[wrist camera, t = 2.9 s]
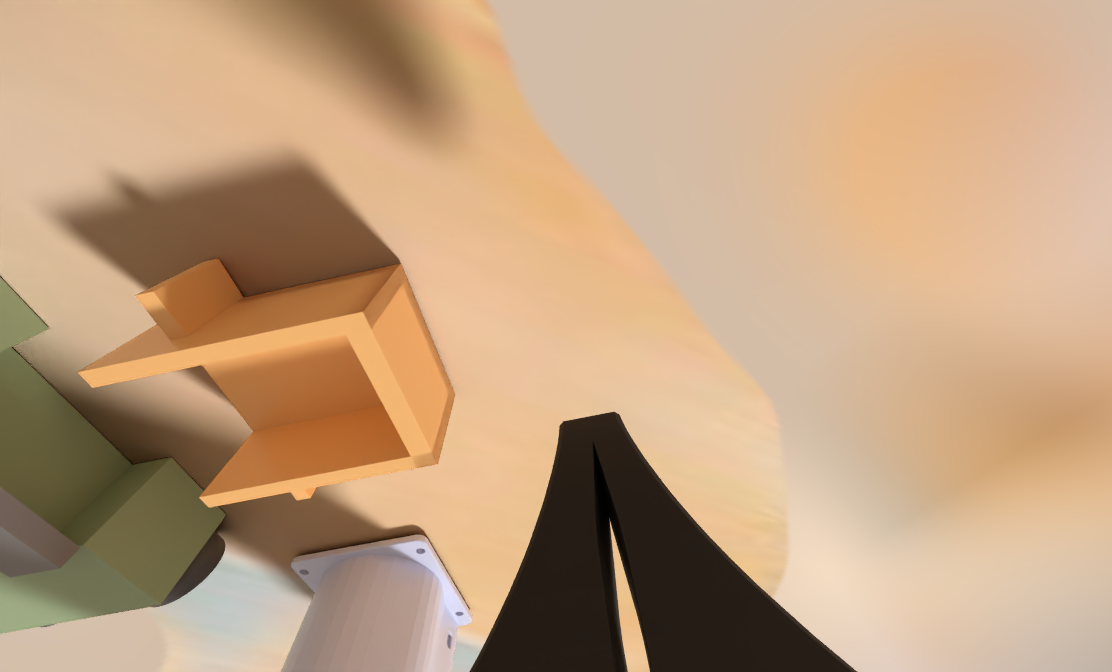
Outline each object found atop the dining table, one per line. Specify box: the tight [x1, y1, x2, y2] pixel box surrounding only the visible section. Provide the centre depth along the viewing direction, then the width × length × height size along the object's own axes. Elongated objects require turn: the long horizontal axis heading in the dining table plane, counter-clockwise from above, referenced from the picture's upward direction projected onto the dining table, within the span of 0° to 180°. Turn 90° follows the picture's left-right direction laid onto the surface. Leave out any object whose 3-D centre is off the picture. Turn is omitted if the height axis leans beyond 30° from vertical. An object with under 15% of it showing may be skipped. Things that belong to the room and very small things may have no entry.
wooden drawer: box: [78, 259, 455, 508], centre depth 16 cm, size 10×9×4 cm
